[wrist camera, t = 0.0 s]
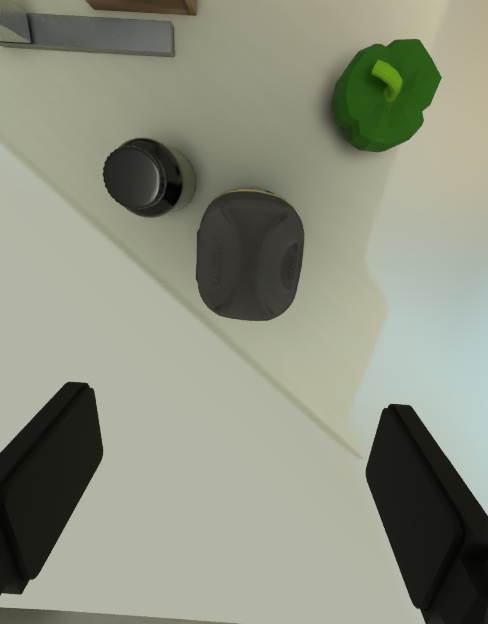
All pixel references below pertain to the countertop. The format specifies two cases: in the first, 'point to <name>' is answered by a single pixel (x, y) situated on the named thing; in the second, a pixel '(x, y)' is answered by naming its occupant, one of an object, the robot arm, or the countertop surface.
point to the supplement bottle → (149, 177)
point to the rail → (98, 35)
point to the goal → (147, 6)
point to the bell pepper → (385, 94)
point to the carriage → (13, 23)
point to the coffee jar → (249, 255)
